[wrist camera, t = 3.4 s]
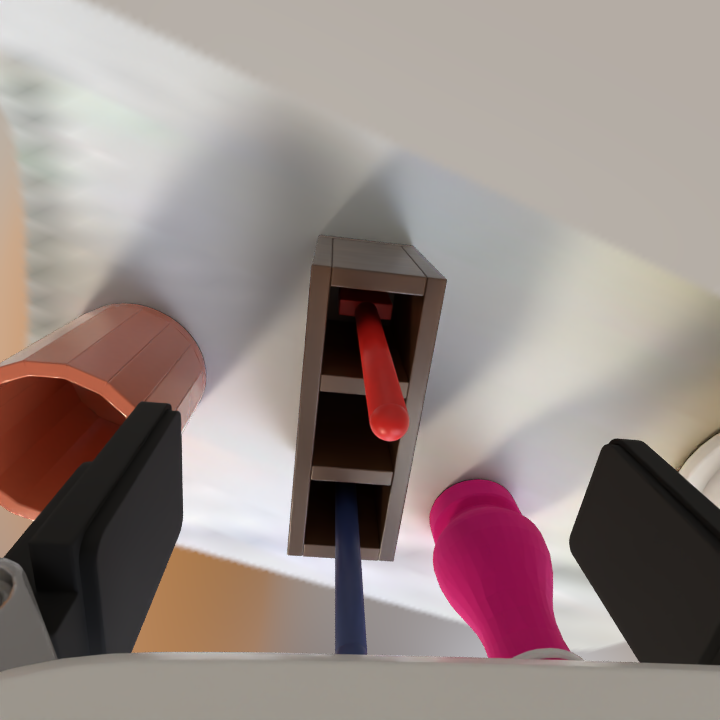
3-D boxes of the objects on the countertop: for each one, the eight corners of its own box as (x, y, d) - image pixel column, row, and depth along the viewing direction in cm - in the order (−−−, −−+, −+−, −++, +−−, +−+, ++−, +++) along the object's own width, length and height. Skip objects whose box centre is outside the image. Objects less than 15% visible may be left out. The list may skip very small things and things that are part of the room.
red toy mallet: (385, 283, 27) (443, 417, 13) (382, 302, 27) (435, 452, 13) (339, 278, 27) (345, 408, 12) (337, 297, 27) (340, 445, 13)
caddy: (413, 245, 27) (447, 279, 19) (378, 462, 32) (393, 562, 24) (318, 234, 27) (311, 264, 19) (299, 456, 32) (286, 555, 24)
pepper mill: (438, 564, 36) (547, 982, 18) (409, 491, 33) (501, 893, 15) (531, 535, 36) (745, 937, 17) (509, 458, 33) (734, 835, 14)
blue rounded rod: (365, 425, 30) (392, 660, 16) (363, 440, 31) (387, 682, 16) (324, 421, 30) (314, 657, 16) (322, 437, 31) (311, 679, 16)
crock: (206, 311, 28) (152, 371, 20) (206, 435, 31) (158, 533, 23) (56, 295, 27) (-67, 352, 19) (70, 424, 30) (-30, 522, 22)
